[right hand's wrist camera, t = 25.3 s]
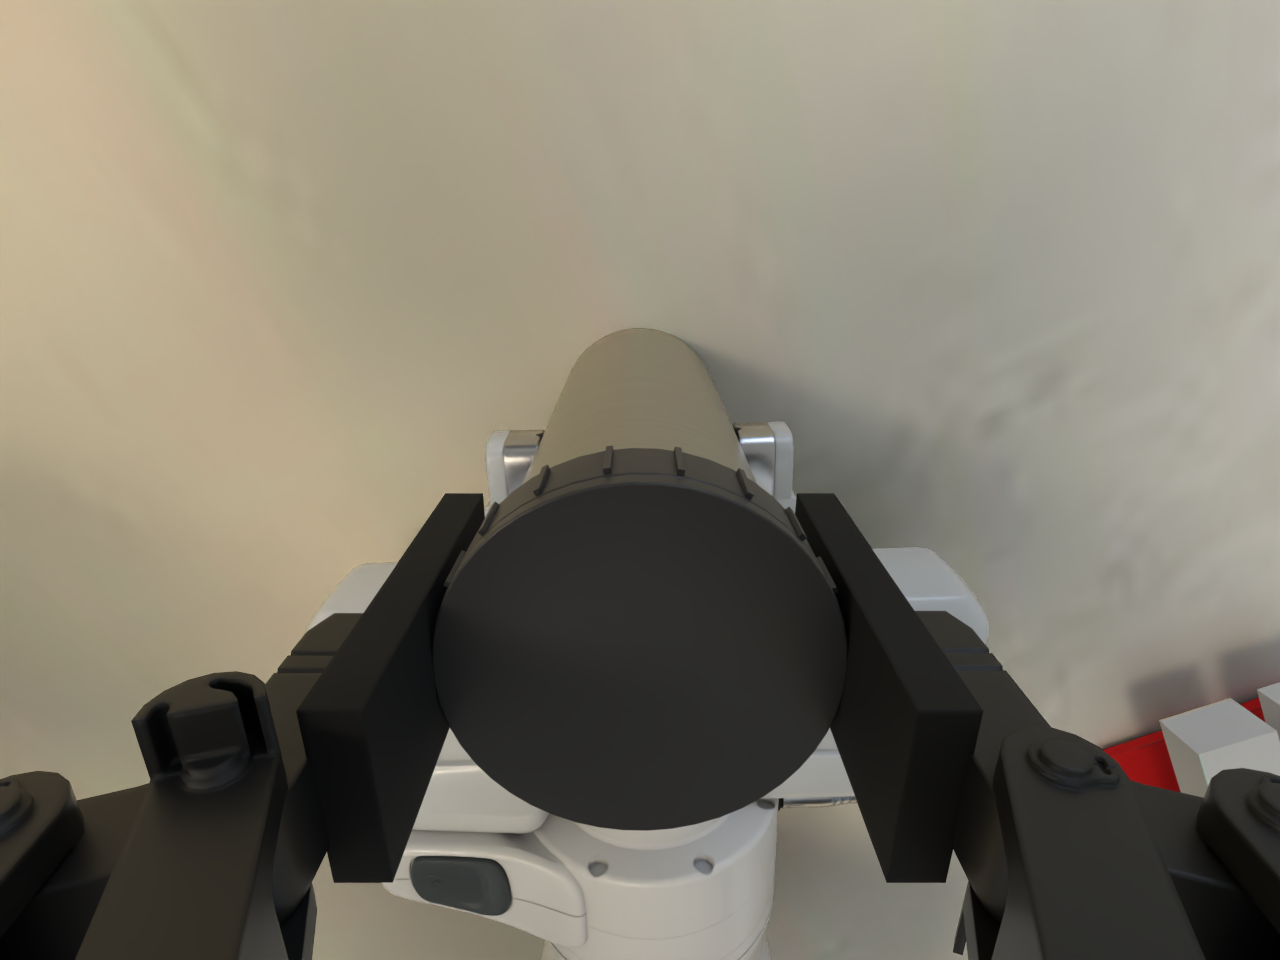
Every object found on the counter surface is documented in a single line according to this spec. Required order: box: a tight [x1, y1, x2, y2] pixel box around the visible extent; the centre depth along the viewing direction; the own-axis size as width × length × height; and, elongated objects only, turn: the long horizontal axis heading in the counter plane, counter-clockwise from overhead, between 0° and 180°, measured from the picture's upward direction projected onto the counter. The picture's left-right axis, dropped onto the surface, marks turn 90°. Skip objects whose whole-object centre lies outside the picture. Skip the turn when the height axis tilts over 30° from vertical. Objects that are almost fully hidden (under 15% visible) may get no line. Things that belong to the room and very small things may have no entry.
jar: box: [522, 329, 757, 485], centre depth 19 cm, size 6×6×15 cm
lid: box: [432, 446, 848, 831], centre depth 11 cm, size 6×6×2 cm
